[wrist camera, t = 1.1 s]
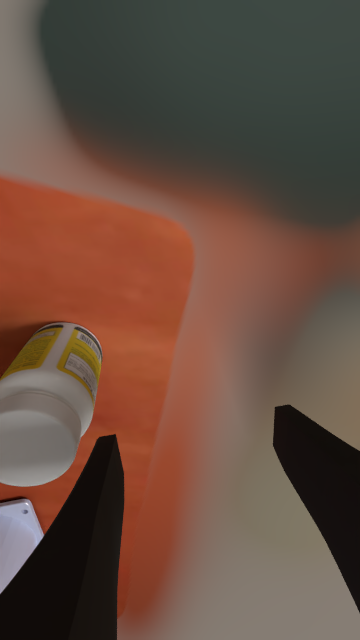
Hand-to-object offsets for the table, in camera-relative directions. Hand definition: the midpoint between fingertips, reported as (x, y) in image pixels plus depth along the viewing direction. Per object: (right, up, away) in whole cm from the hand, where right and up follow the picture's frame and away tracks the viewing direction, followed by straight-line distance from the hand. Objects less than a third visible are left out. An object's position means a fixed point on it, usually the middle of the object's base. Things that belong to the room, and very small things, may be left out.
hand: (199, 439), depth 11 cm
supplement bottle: (-8, +3, +8) cm, 12 cm away
